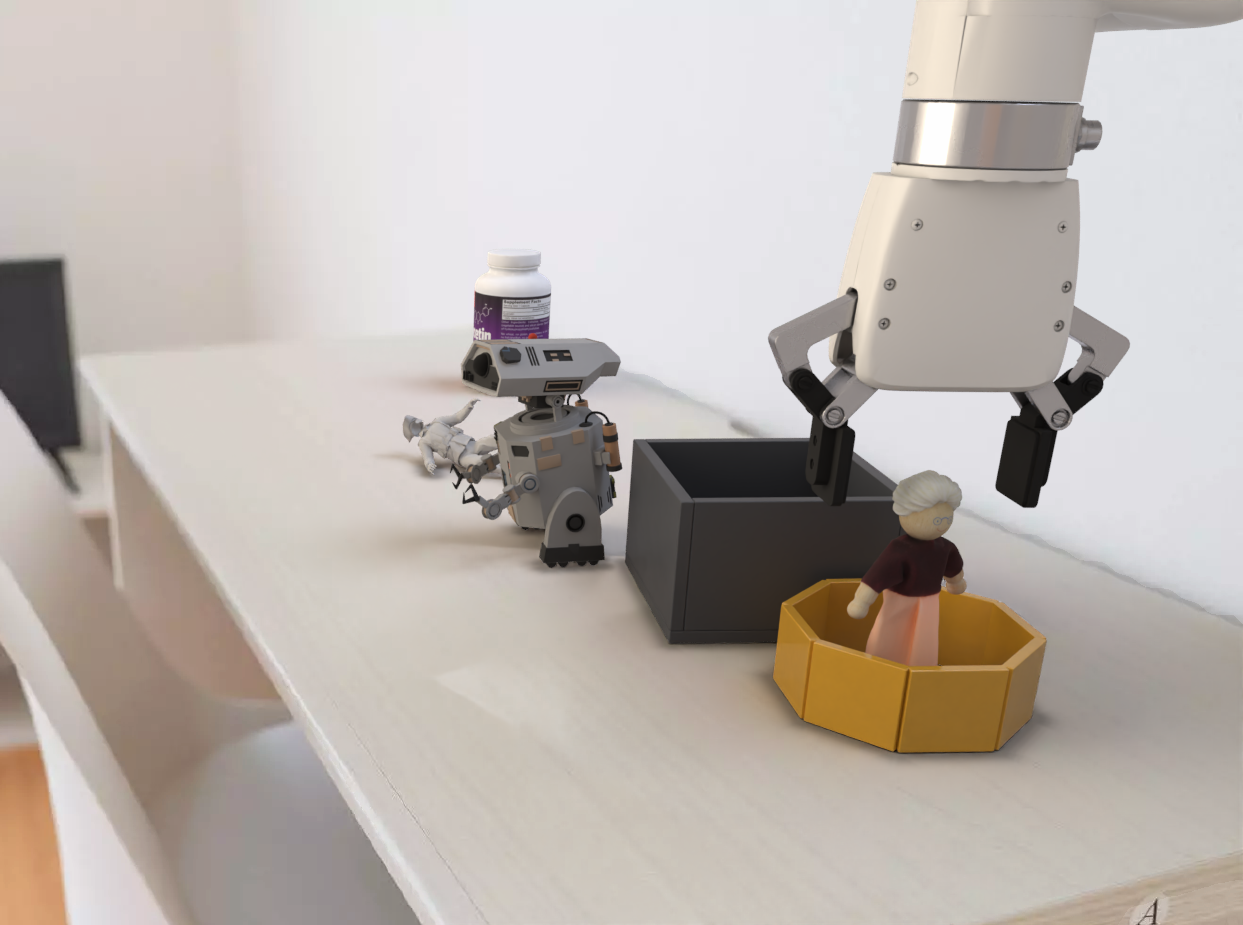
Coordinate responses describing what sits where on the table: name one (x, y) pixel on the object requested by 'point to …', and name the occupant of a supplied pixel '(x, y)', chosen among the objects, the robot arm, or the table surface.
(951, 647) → the yellow octagonal ring
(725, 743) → the table surface
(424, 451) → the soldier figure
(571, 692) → the table surface
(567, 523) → the figurine
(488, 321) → the pill bottle
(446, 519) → the table surface
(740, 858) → the table surface
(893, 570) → the grandmother figurine
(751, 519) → the bin
